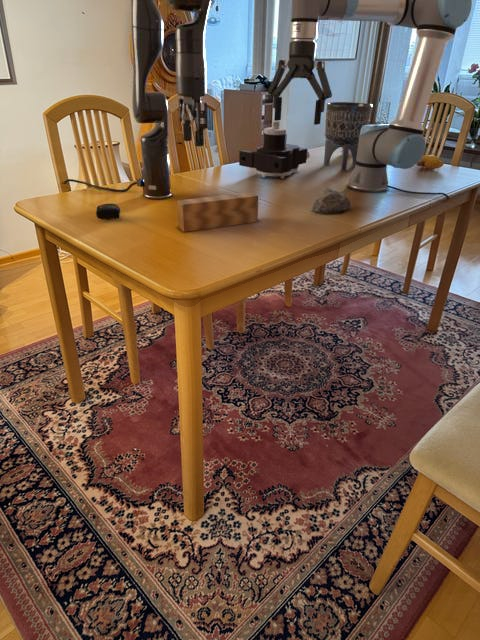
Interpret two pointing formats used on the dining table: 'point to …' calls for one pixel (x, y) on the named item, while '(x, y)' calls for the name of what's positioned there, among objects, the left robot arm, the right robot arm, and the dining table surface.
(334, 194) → the rock
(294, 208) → the dining table surface
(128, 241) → the dining table surface
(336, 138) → the planter
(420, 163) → the toy
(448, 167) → the dining table surface
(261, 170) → the mechanical component
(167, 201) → the dining table surface
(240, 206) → the bar
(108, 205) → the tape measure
